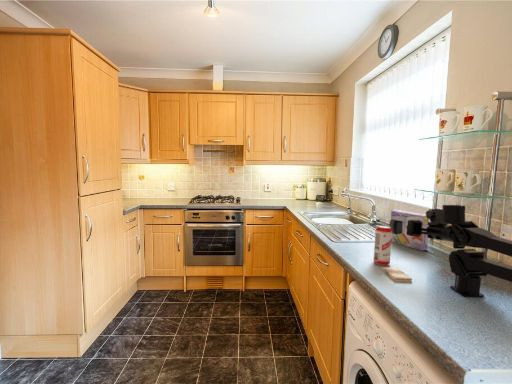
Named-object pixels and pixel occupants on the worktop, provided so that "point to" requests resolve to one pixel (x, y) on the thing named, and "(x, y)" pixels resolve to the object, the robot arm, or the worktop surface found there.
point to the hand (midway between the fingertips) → (417, 228)
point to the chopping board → (396, 274)
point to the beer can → (382, 245)
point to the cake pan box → (400, 232)
